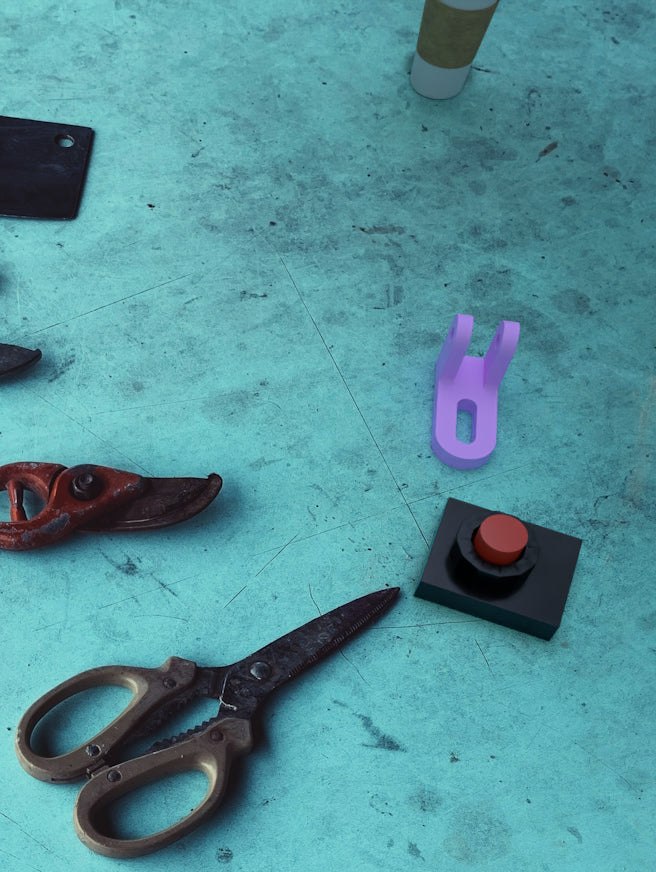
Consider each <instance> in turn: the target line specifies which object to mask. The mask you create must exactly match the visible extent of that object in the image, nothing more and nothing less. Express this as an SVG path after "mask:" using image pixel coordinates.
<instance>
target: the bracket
mask: <svg viewBox="0 0 656 872" xmlns="http://www.w3.org/2000/svg"><path fill="white" fill-rule="evenodd" d="M474 322H475V321H474V315H470V314H462V313H456V314H455V315H454V317H453V319H452V321H451V324H450V326H449V329H448V331H447V334H446V336H445V339H444V342H443V344H442V346H441V349H440V351H439V354H438V356H437V359H436V362H435V369H434V371H435V374H434V388H433V405H432V419H431V421H432V422H431V423H432V424H431V437H430V446H431V450H432V452H433V454H434V456H435V457H436V458H437V459H438V460H439V461H440V462H442V463H443V464H445V465H446V466H448V467H451V468H453V469H457V470H464V471H466V470H476V469H478V468H480V467H482V466H484V465H485V464H487V462H488V461H489V459H490V458H491V456H492V454H493V451H494V449H495V448H496V445H497V431H498V400H499V399H498V397H499V389H500V385H501V383H502V382H503V379H504V376H506V375H505V374H506V373H507V370H508V368H509V366H510V364H511V362H512V359H513V358H514V355H515V352H516V350H517V347H518V342H519V338H520V331H521V324H520V322H519V321H518V322H517V321H511V320H504V319H502V320H500V322H499V324H498V326H497V328H496V330H495V333H494V334H493V337H492V339H491V342H490V344H489V346H488V349H487V351H486V353H485V355H484V357H478V356H470V355H466V353H467V351H468V348H469V346H470V342H471V338H472V335H473V329H474ZM460 410H461V411H466V412H468V413H469V414H470V416H471V441H470V443H467V442H466V443H465V442H463V441H460V440H459V439H458V438H457V419H458V418H457V417H458V411H460Z"/></svg>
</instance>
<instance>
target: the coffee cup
mask: <svg viewBox="0 0 656 872" xmlns="http://www.w3.org/2000/svg"><path fill="white" fill-rule="evenodd" d="M500 1H501V0H424V3H423V4H424V5H423V9H422V14H421V21H420V24H419V25H420V27H419V29H418V30H419V31H418V36H417V41H416V47H415V52H414V56H413V57H414V58H413V63H412V67H411V71H410V76H409V83H410V85H411V88H412V89H413V90H414V91H415V92H416V93H418V94H419V95H421V96H423V97H425V98H429V99H432V100H448V99H451V98H454V97H455V96H457V95H458V94H459V93H460V92H461V90H462V89H463V87H464V84H465V82H466V79H467V77H468V74H469V72H470V70H471V67H472V65H473V62H474V60H475V59H476V56H477V54H478V52H479V49H480V47H481V44H482V43H483V41H484V38H485V36H486V33H487V31H488V28H489V26H490V24H491V22H492V20H493V17H494V15H495V12H496V10H497V8H498V6H499V3H500Z"/></svg>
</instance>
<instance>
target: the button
mask: <svg viewBox="0 0 656 872" xmlns="http://www.w3.org/2000/svg"><path fill="white" fill-rule="evenodd" d="M527 541H528V533H527V530H526V528H525V526H524V525H523V524H522V523H521V522H520V521H519V520H517V519H515V518H513V517H511V516H508V515H502V514H497V515H492V516H490V517H488V518H486V519H485V520H484V521H483V522H482V524H481V526H480V528H479V530H478V532H477V534H476V535H475V538H474V548H475V550H476V552H477V554H478V555H480V556H481V557H482V558H483V559H484V560H485V561H488V562H491V563H494V564H497V565H506V564H510V563H512V562H514V561H515V560H516V559H517V558H518V557H519V555H520V554H521V552H522V550H523V549H524V547H525V545H526V543H527Z"/></svg>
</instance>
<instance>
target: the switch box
mask: <svg viewBox="0 0 656 872" xmlns="http://www.w3.org/2000/svg"><path fill="white" fill-rule="evenodd" d="M497 514H502V515H508V516H511V517H513V518H515V519H517V520H519V521H520V522H521V523H522V524H523V525H524V526H525V528H526V530H527V533H528V541H527V543H526V545H525V547H524V549H523V550H522V552H521V554H520V555H519V557H518V558H517V559H516V560H515V561H514V562H512V563H510V564H506V565H497V564H494V563H491V562H488V561H485V560H484V559H483V558H482V557H481V556H480V555H478V554H477V552H476V550H475V548H474V538H475V535H476V534H477V532H478V530H479V528H480V526H481V524H482V522H483V521H484V520H485V519H486V518H488V517H490V516H492V515H497ZM583 543H584V539H582V538H579V537H576V536H573V535H570V534H567V533H564V532H560V531H557V530H556V529H555V530H554V529H551V528H548V527H546V526H542V525H539V524H536V523H533V522H530V521H526V520H523V519H521V518H520V517H518V516H515V515H513V514H511V513H506V512H504V511H500V510H492V509H489V508H486V507H482V506H479V505H477V504H473V503H469V502H467V501H464V500H460V499H458V498H454V497H451V496H449V497H448V498H447V500H446V502H445V504H444V507H443V509H442V511H441V513H440V516H439V519H438V522H437V525H436V527H435V531H434V533H433V536H432V539H431V542H430V546H429V548H428V551H427V553H426V557H425V560H424V563H423V564H422V565H423V566H422V569H421V571H420V575H419V577H418V580H417V584H416V586H415V589H414V591H413V595H412V596H413V597H415V598H417V599H421V600H423V601H426V602H430V603H431V604H435V605H439V606H441V607H445V608H447V609H451V610H454V611H456V612H459V613H462V614H466V615H469V616H472V617H475V618H476V619H477V618H478V619H481V620H483V621H486V622H489V623H492V624H496V625H499V626H502V627H504V628H507V629H510V630H513V631H517V632H519V633H523V634H525V635H529V636H531V637H534V638H537V639H541V640H544V641H546V642H550V641H551V640H552V639H553V637H554V636H555V635H556V633H557V632H558V630H559V628H560V626H561V623H562V619H563V616H564V612H565V608H566V605H567V601H568V597H569V594H570V589H571V587H572V582H573V579H574V575H575V572H576V569H577V564H578V560H579V557H580V552H581V550H582V545H583Z"/></svg>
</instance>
